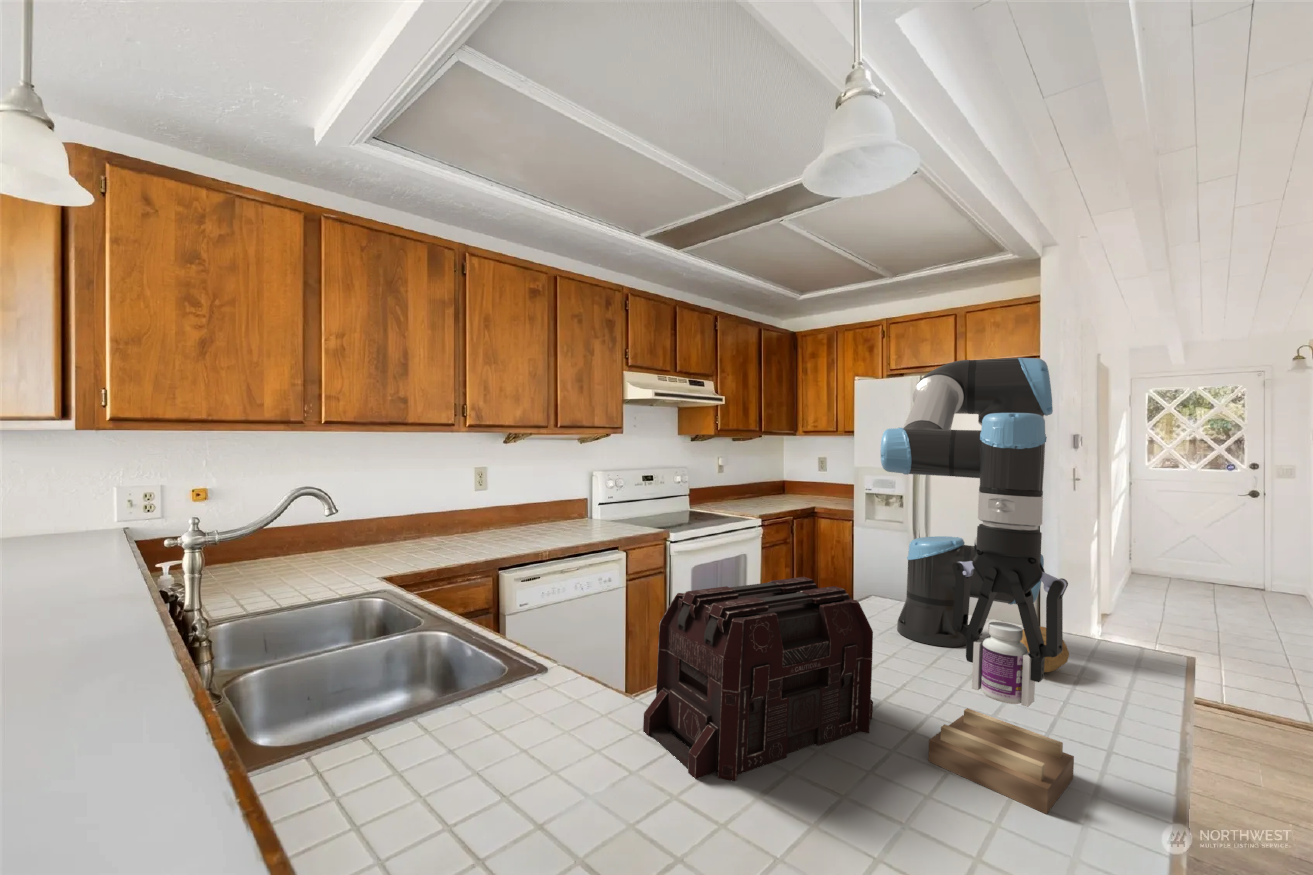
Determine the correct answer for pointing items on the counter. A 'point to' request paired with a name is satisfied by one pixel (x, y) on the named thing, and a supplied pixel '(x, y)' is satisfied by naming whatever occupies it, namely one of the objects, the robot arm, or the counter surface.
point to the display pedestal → (1004, 759)
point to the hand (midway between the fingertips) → (1002, 694)
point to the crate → (759, 674)
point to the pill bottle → (1003, 663)
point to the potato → (1050, 662)
